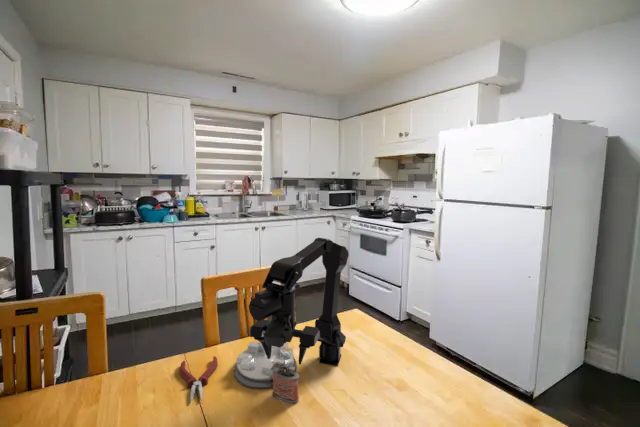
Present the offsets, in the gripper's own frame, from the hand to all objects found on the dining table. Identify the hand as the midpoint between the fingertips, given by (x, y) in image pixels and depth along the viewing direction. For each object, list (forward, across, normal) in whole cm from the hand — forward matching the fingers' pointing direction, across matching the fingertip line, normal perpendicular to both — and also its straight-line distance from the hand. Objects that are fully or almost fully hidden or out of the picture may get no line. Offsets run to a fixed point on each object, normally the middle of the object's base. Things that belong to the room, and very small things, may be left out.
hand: (284, 361), depth 88 cm
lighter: (+11, 0, 0) cm, 11 cm away
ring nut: (+9, -11, +11) cm, 18 cm away
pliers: (+12, -30, -1) cm, 32 cm away
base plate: (+11, -11, +11) cm, 19 cm away
